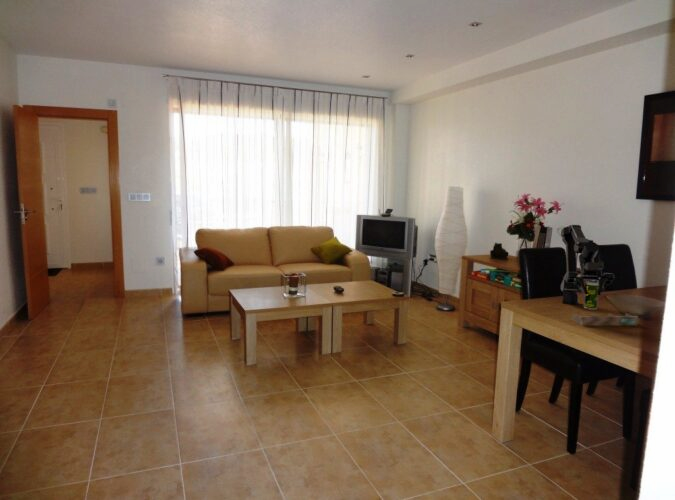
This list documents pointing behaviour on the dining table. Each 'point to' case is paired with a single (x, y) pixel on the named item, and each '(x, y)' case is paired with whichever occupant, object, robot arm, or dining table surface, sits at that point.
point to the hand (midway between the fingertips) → (592, 294)
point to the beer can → (591, 295)
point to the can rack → (605, 320)
